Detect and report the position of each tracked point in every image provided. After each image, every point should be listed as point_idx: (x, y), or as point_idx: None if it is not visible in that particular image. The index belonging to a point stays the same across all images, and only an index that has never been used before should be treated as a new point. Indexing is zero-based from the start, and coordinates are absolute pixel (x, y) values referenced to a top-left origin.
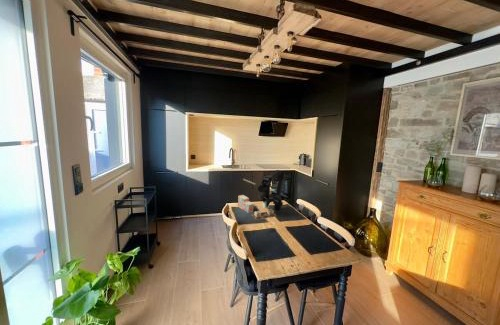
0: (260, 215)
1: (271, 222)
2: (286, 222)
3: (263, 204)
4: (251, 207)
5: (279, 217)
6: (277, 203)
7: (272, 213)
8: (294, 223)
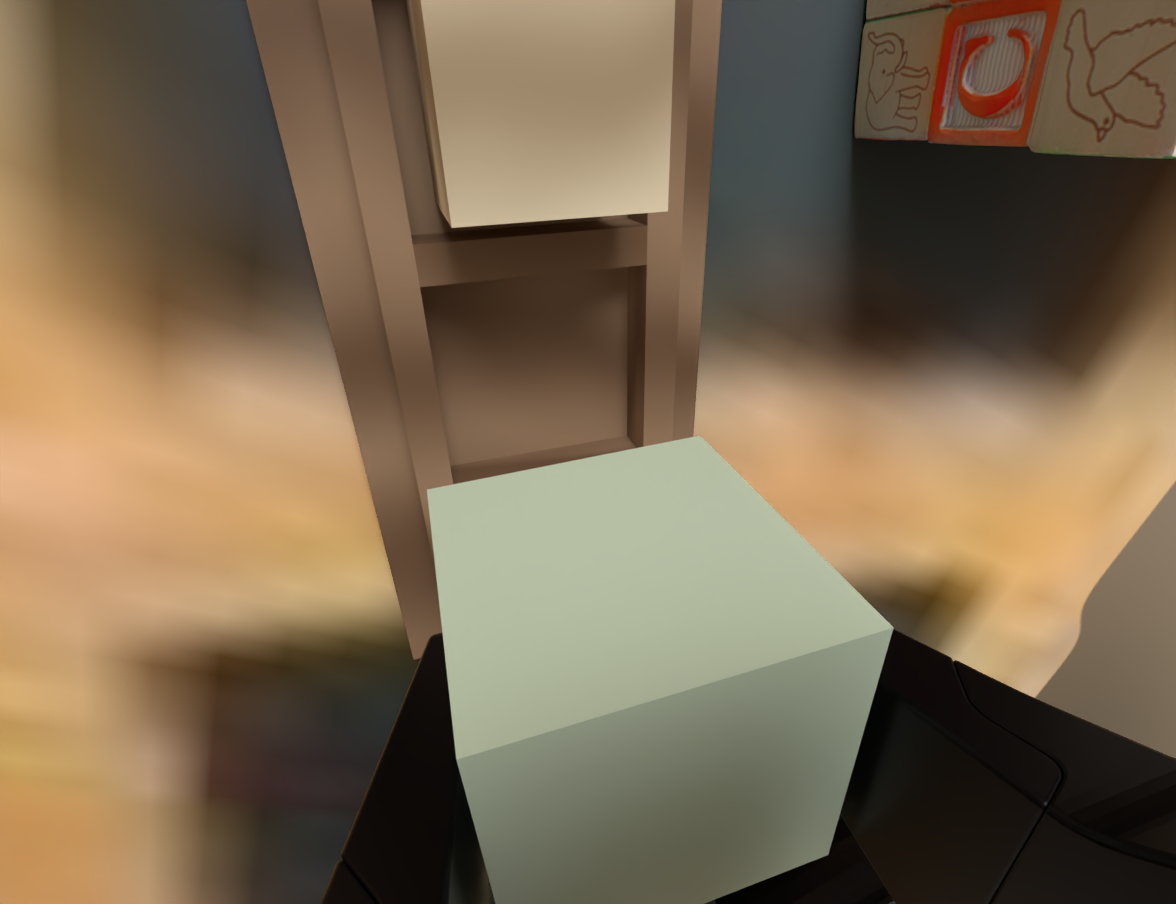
0: (436, 190)
1: (55, 425)
2: (72, 766)
3: (664, 559)
4: (1061, 8)
5: (388, 686)
6: (741, 901)
7: None
8: (16, 885)
